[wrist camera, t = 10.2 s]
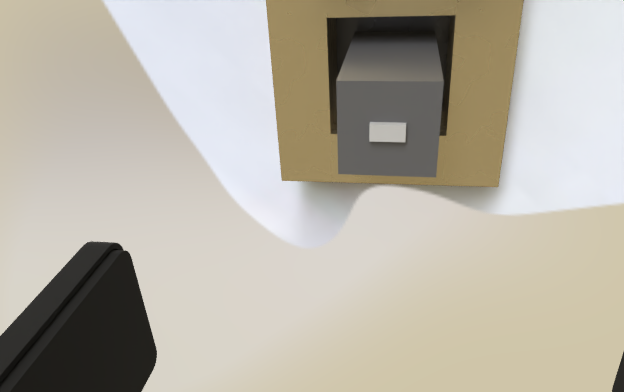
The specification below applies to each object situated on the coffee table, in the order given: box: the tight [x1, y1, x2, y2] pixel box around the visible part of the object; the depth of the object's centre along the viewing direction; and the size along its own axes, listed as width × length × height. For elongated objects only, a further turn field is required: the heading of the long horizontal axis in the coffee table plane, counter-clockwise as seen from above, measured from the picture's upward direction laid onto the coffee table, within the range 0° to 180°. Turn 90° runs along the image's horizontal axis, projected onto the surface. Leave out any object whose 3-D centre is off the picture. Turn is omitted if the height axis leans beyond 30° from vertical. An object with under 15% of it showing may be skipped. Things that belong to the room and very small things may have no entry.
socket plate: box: [266, 0, 524, 187], centre depth 26 cm, size 11×11×4 cm
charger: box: [336, 32, 444, 177], centre depth 24 cm, size 4×4×8 cm
